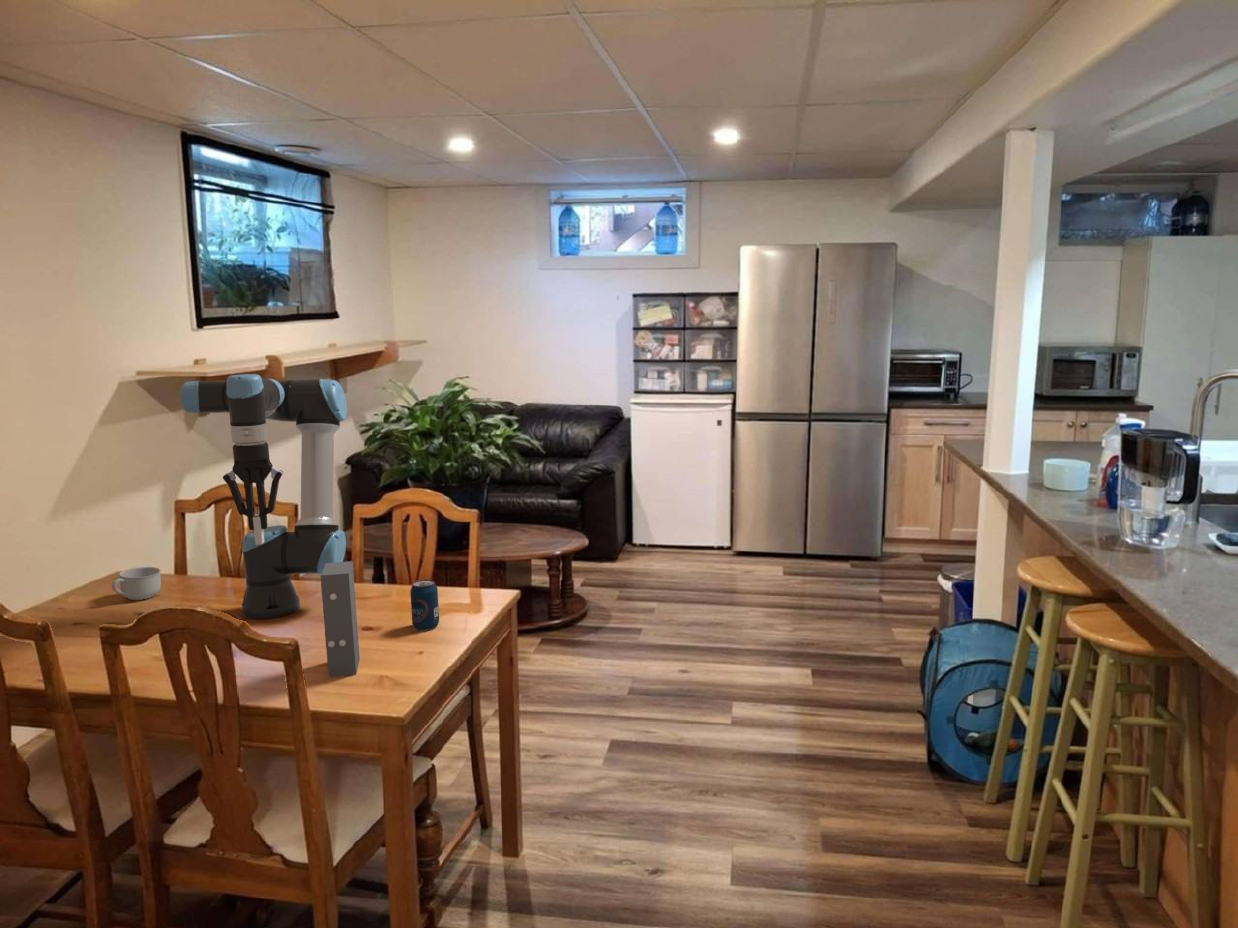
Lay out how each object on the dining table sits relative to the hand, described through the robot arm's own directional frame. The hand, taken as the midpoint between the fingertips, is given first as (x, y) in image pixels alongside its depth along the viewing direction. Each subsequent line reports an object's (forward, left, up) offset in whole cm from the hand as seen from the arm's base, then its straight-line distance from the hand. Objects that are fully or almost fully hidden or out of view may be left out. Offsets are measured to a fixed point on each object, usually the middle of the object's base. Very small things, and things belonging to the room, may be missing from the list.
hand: (260, 542), depth 204 cm
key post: (+20, +1, -29) cm, 35 cm away
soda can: (+24, +30, -29) cm, 49 cm away
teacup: (-71, +28, -29) cm, 82 cm away
